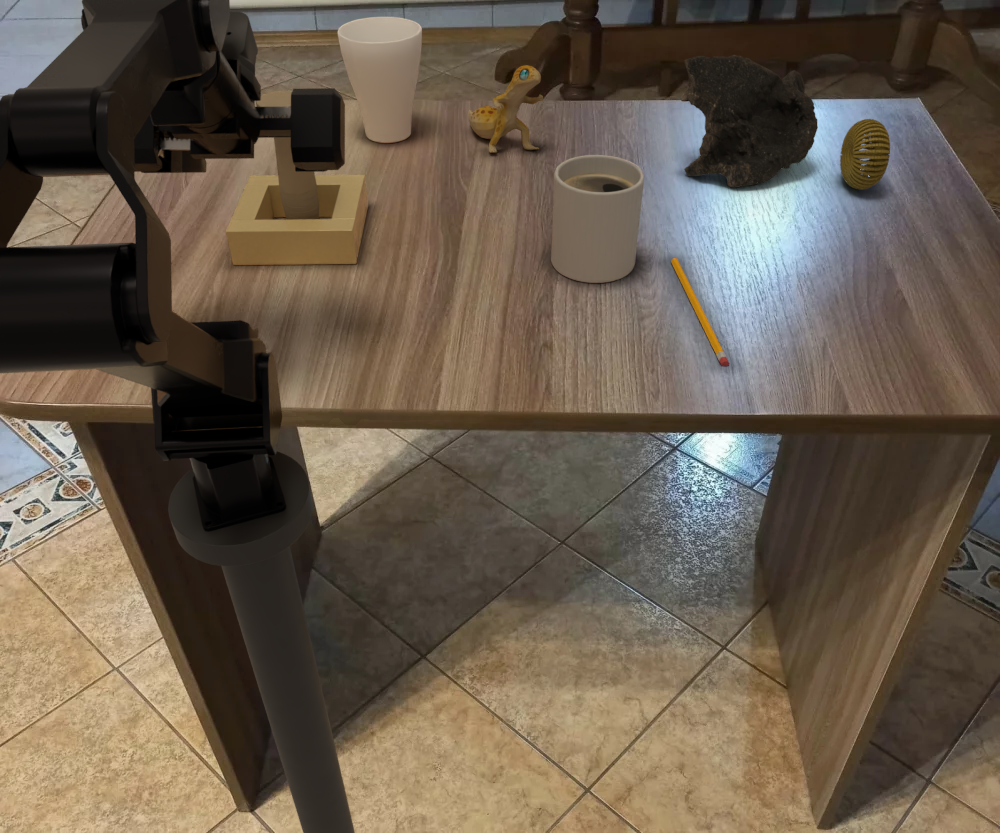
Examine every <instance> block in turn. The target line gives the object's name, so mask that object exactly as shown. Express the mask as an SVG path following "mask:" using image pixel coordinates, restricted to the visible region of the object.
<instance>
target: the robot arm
mask: <svg viewBox="0 0 1000 833" xmlns="http://www.w3.org/2000/svg"><path fill="white" fill-rule="evenodd" d="M81 5H82V9H81V16H80V22H81V23H80V24H81V28H82V30H83V31H81V32H80V33H79V34H78V35H77V37H75V38H74V40H72V41H71V42H70V44H69V45H67V46H66V48H64V49H63V50H62V52H61V53H60V54H58V56H56V57H55V58H54V59H53V60H52V61H51V63H49V64H48V65H47V67H45V68H44V69H43V71H41V73H39V74H38V75H37V76H36V77H35V78H34V79H33V80H32V81H31V82H30V84H28V85H27V86H26V87H19V88H18V89H16V90H15V91H14V93H8V94H5V95H2V96H1V98H0V374H22V373H43V372H66V371H85V370H86V371H87V370H88V371H89V370H97V371H99V372H103V373H106V374H107V375H112V376H114V377H118V378H120V379H122V380H123V379H124V380H127V381H130V382H132V383H135V384H138V385H141V386H144V387H147V388H150V393H151V394H150V395H151V405H152V408H151V409H152V420H153V421H152V422H153V426H154V447H155V451H156V452H157V454H158V456H159V457H160V458H161V460H162V461H163V462H166V461H167V462H169V461H171V460H181V459H183V460H184V459H189V461H190V464H191V467H192V468H193V471H194V474H195V475H194V476H193V483H194V488H195V493H196V498H197V503H198V508H199V512H200V517H201V522H202V526H203V529H204V530H205V531H207V532H209V531H213V530H217V529H221V528H224V527H228V526H232V525H235V524H239V523H243V522H246V521H250V520H254V519H257V518H261V517H265V516H268V515H272V514H276V513H279V512H282V511H284V510H285V509H286V502H285V499H284V496H283V493H282V489H281V486H280V483H279V479H278V476H277V473H276V470H275V466H274V463H273V460H272V458H271V457H270V456H268V455H276V452H277V450H278V444H279V441H280V440H279V439H280V432H281V429H282V428H281V427H282V421H283V411H282V403H281V394H280V393H281V392H280V386H279V378H278V368H277V362H276V358H275V354H274V353H273V352H272V351H268V352H267V347H266V344H265V342H264V341H263V340H262V339H261V338H259V329H258V328H252V326H251V325H250V323H248V322H246V321H244V320H241V319H237V320H216V321H194V322H192V321H189V320H187V319H185V317H183V316H181V315H180V314H178V313H177V312H175V311H173V293H172V292H173V291H172V290H173V289H172V288H173V287H172V284H173V282H172V240H171V236H170V233H169V232H168V230H167V229H166V227H165V225H164V224H163V222H162V221H161V219H160V217H159V216H158V214H157V213H156V211H155V209H154V208H153V206H152V205H151V203H150V202H149V200H148V199H147V197H146V194H145V193H144V192H143V191H142V189H141V187H140V186H139V184H138V182H137V181H136V178H135V173H138V172H139V173H141V174H187V173H189V174H190V173H191V174H194V173H195V174H196V173H198V174H199V173H207V164H208V162H207V160H211V159H212V160H219V159H220V160H225V159H226V160H229V159H233V160H236V159H238V160H239V159H241V160H242V159H246V160H247V159H255V145H256V144H257V142H258V141H259V139H263V138H264V139H266V138H271V139H272V138H273V139H274V138H284V137H291V153H292V159H293V163H294V165H295V171H296V172H314V173H316V172H327V171H339V170H341V168H342V167H343V166H344V165H345V164H346V158H345V157H346V103H345V100H344V98H343V96H342V95H341V93H340V92H339V91H338V90H337V89H336V88H333V87H330V88H329V87H327V88H325V87H324V88H322V87H321V88H317V87H316V88H315V87H314V88H312V87H311V88H293V89H292V91H291V92H292V93H291V106H284V107H257V106H256V101H260V100H261V95H262V86H261V83H260V82H259V80H258V78H257V77H256V62H257V55H258V53H259V48H258V45H257V41H256V39H255V35H254V32H253V28H252V24H251V21H250V18H249V16H248V14H247V13H244V12H242V11H231V7H230V6H231V4H230V0H81ZM263 117H264V118H263ZM267 117H269V118H267ZM272 117H274V118H272ZM277 117H278V118H277ZM282 117H283V118H282ZM287 117H288V118H287ZM86 176H110V178H111V179H112V181H113V183H114V185H115V186H116V188H117V189H118V191H119V193H120V194H121V195H122V197H123V199H124V200H125V202H126V203H127V205H128V207H129V208H130V209H131V211H132V213H133V214H134V217H135V218H134V225H135V226H134V232H135V233H134V234H135V236H134V237H135V238H134V240H135V242H115V243H114V242H112V243H88V244H87V243H84V244H61V245H59V244H58V245H34V246H33V245H32V246H8V245H9V243H10V241H11V240H12V238H13V236H14V234H15V233H16V231H17V230H18V228H19V226H20V225H21V223H22V221H23V220H24V218H25V216H26V215H27V213H28V212H29V210H30V208H31V207H32V205H33V203H34V202H35V200H36V198H37V197H38V195H39V194H40V191H41V190H42V186H43V184H44V178H54V177H55V178H56V177H86ZM192 468H191V469H192ZM280 505H282V506H280ZM278 506H279V507H278ZM210 524H211V525H210ZM207 525H209V526H207Z"/></svg>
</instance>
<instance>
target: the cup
mask: <svg viewBox="0 0 1000 833" xmlns="http://www.w3.org/2000/svg"><path fill="white" fill-rule="evenodd" d="M336 32H337V39H338V43H339V49H340V54H341V56H342V60H343V64H344V67H345V71H346V74H347V77H348V80H349V82H350V85H351V87H352V90H353V93H354V95H355V98H356V102H357V105H358V108H359V110H360V114H361V119H362V122H363V127H364V132H365V136H366V138H367V139H368V140H369V141H372V142H375V143H380V144H392V143H398V142H403V141H404V140H406V139H408V138H409V137H410V136H411V134H412V117H413V116H412V113H413V106H414V99H415V93H416V88H417V83H418V81H419V80H418V79H419V72H420V64H421V57H422V49H423V47H422V46H423V45H422V43H423V28H422V26H421V24H420V23H419V22H416V21H414V20H412V19H409V18H405V17H404V18H403V17H398V16H371V17H363V18H357V19H354V20H350V21H348V22H346V23H343V24H342V25H341V26H339V27H338V29H337V31H336Z"/></svg>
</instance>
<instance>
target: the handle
mask: <svg viewBox="0 0 1000 833" xmlns="http://www.w3.org/2000/svg"><path fill="white" fill-rule="evenodd" d="M291 93H292V91H289V90H273V91H269V92H266V93H263V94H261V100H260V101H255V107H284V106H291ZM263 118H264V117H263ZM267 118H269V117H267ZM272 118H274V117H272ZM277 118H278V117H277ZM282 118H283V117H282ZM287 118H288V117H287ZM273 141H274V142H273V143H274V150H275V158H276V169H277V175H278V180H279V188H280V194H281V199H282V204H283V208H284V212H285V216H286V217H285V220H293V219H320V217H319V199H318V191H317V184H316V179H315V175H316V174H315V172H296V171H295V165H294V163H293V159H292V153H291V137H284V138H273Z"/></svg>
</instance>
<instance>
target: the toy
mask: <svg viewBox="0 0 1000 833" xmlns="http://www.w3.org/2000/svg"><path fill="white" fill-rule="evenodd" d="M541 81H542V75H541V73H540V72H539V70H538V69H537V68H535V67H534V66H532V65H529V64H528V65H527V64H524V65H521V66H519V67H518V68H517V69H516V70H515V71H514V73H513V75H512V78H511V81H510V82H509V84H508V85H507V87H506V89H505V92H504V93H501V94H499V95H497V96H495V97H494V98H493V99H492V104H493V106H491V105H484V106H481V107H479V108H477V109H475V110H474V111H473V110H472V109H469V110H468V112H467V113H468V114H467V117H468V118H467V119H468V123H469V125H470V127H471V128H472V131H473V132H474V133H475V134H476V135H477V136H479V137H480V138H483V139H487V140H490V141H489V143H488V148H487V149H488V152H489V153H490V154H494V153H498V150H497V147H496V146H497V144H498V142H499V141H500V139H501V138H502V137H505V136H506V135H507V134H508V133H510V132H512V131H513V130H518V131H520V135H521V136H520V138H521V144H522V147H523V149H524V150H527V151H533V150H540V148H539V147H538V146H534V145H533V144H532V143H531V141H530V129H529V127H528V126H527V125H526V124H525V123H524V122H523V121H522V120H520V119H519V118H518V116H517V114H518V112H519V109H520V107H521V105H522V104H528V105H534V104H537V103H538V102H544V96H543V95H542V94H538V96H535V97H531V96H528V95H527V94H528V92H529V91H531V90H532V89H533V88H534V87H536V86H537V85H539V84H540V83H541Z"/></svg>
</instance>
